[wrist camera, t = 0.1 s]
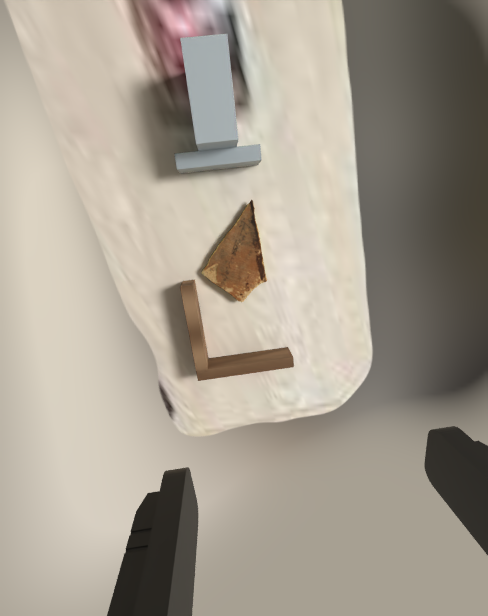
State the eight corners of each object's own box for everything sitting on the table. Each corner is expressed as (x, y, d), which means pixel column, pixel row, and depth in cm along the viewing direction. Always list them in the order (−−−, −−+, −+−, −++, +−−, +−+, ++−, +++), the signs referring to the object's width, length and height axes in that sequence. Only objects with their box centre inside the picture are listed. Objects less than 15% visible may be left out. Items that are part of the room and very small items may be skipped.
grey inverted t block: (164, 74, 30) (150, 40, 24) (249, 66, 30) (255, 31, 24) (180, 173, 33) (172, 164, 27) (257, 164, 33) (265, 154, 27)
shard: (250, 200, 34) (252, 199, 33) (296, 238, 36) (300, 239, 35) (199, 270, 37) (198, 273, 35) (245, 303, 39) (247, 307, 37)
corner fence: (183, 281, 36) (180, 286, 33) (282, 268, 37) (287, 272, 34) (199, 369, 40) (198, 380, 38) (288, 356, 41) (293, 366, 38)
